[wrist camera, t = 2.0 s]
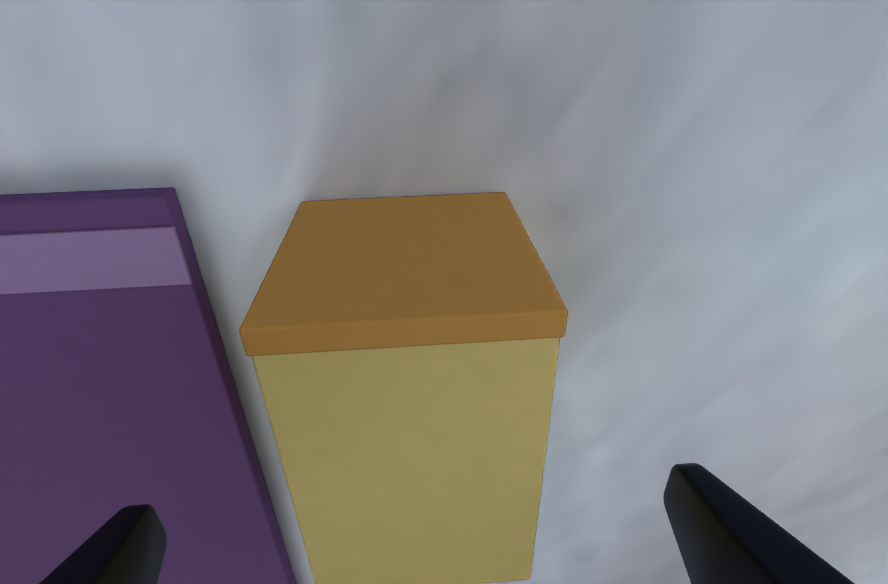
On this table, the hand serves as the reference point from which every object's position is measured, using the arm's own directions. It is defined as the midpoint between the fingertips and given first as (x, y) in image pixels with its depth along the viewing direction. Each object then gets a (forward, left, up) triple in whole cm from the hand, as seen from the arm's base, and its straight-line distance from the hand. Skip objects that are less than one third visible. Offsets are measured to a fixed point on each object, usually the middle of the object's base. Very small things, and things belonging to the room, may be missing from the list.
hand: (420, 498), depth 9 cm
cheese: (0, 0, -5) cm, 5 cm away
